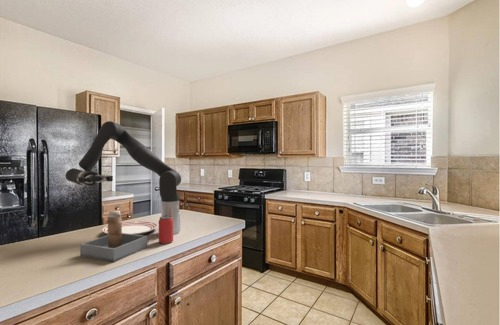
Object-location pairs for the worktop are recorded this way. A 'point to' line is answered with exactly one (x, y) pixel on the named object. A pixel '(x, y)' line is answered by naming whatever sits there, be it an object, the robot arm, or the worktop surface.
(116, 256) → the bin
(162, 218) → the beer can
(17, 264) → the worktop surface
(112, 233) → the pepper mill
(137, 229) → the dinner plate
